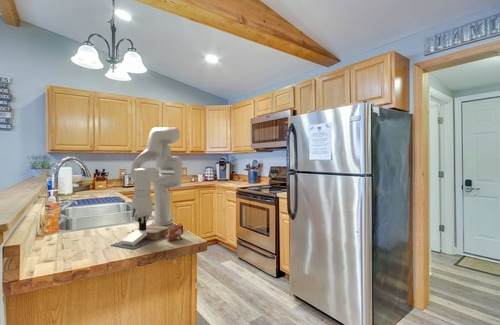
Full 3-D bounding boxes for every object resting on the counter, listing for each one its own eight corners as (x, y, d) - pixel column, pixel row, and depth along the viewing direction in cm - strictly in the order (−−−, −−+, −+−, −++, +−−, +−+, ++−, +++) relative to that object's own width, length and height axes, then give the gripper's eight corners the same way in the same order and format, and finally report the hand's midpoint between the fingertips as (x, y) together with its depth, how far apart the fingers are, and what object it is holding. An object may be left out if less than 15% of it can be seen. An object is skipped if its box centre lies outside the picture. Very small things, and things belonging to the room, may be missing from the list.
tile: (136, 233, 128) (135, 229, 128) (147, 234, 126) (146, 231, 125) (122, 243, 120) (121, 240, 120) (133, 245, 118) (132, 242, 117)
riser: (150, 231, 142) (150, 224, 142) (171, 234, 137) (171, 226, 137) (132, 238, 130) (131, 230, 130) (153, 241, 125) (153, 233, 125)
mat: (131, 238, 130) (131, 237, 130) (152, 241, 125) (152, 241, 125) (110, 245, 119) (110, 244, 119) (133, 249, 114) (133, 248, 114)
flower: (187, 232, 134) (178, 220, 134) (189, 233, 126) (179, 221, 125) (172, 245, 130) (162, 233, 130) (173, 247, 122) (162, 234, 121)
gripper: (147, 191, 136) (148, 226, 136) (124, 194, 122) (124, 233, 122) (159, 192, 133) (159, 227, 133) (136, 195, 119) (136, 235, 119)
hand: (142, 230), depth 128 cm, fingers closed
